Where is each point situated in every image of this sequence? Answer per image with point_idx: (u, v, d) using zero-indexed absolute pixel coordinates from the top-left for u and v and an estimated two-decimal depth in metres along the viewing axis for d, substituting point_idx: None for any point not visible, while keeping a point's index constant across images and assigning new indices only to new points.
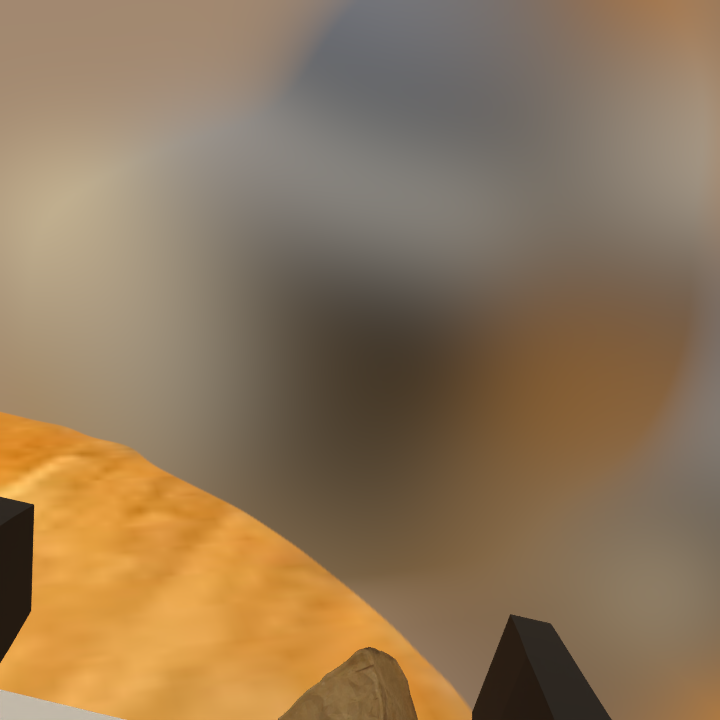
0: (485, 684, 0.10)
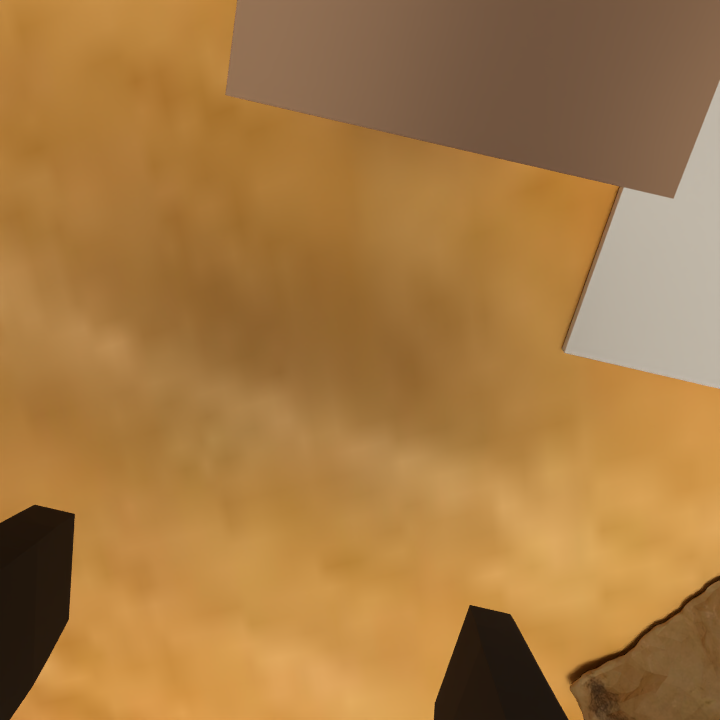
0: (446, 675, 0.10)
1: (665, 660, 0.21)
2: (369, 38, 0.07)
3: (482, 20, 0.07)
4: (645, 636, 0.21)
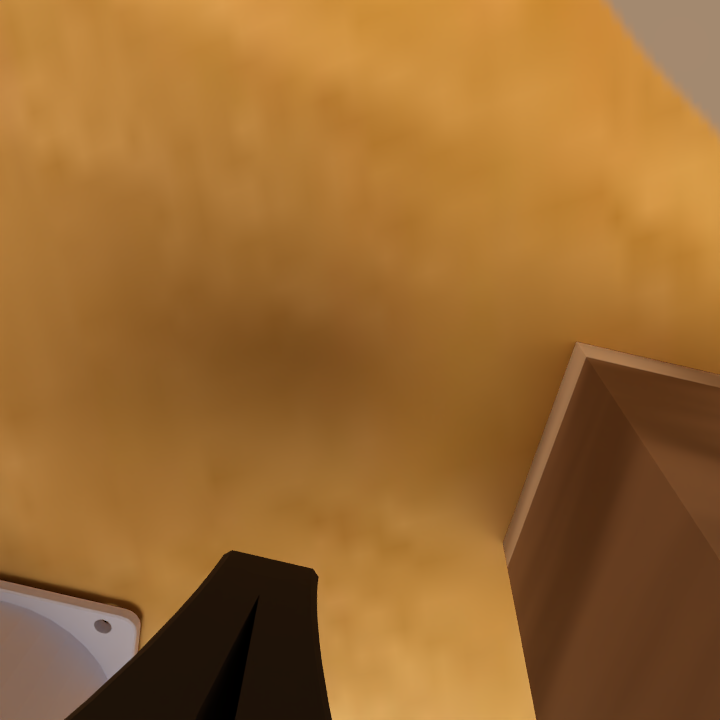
0: None
1: None
2: None
3: None
4: None
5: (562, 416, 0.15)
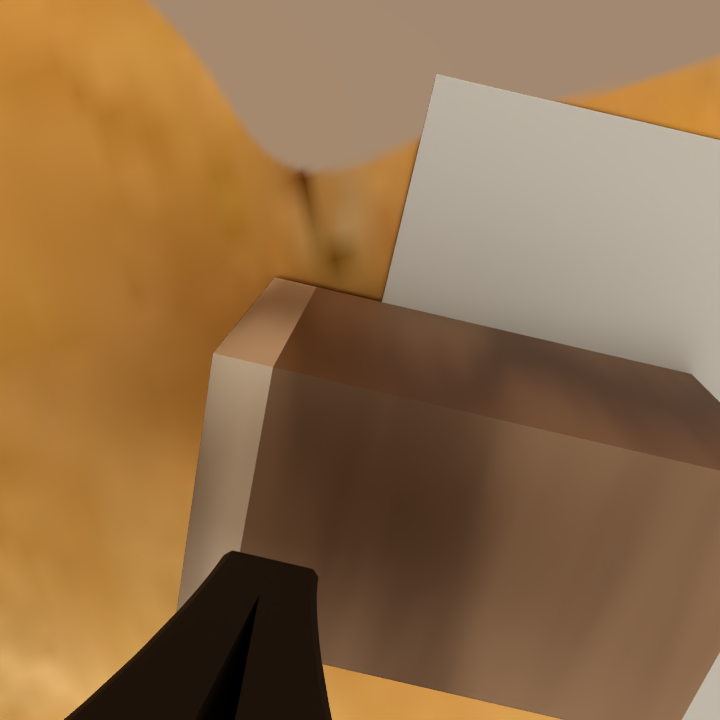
0: None
1: None
2: None
3: None
4: None
5: (251, 448, 0.11)
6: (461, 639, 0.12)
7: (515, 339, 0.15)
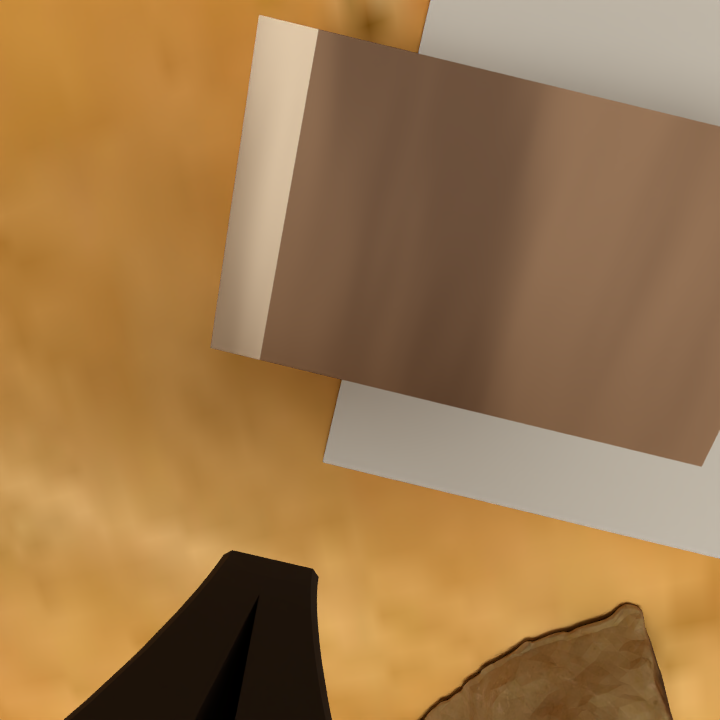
0: None
1: None
2: None
3: None
4: (431, 711, 0.23)
5: (293, 127, 0.11)
6: (497, 349, 0.12)
7: None
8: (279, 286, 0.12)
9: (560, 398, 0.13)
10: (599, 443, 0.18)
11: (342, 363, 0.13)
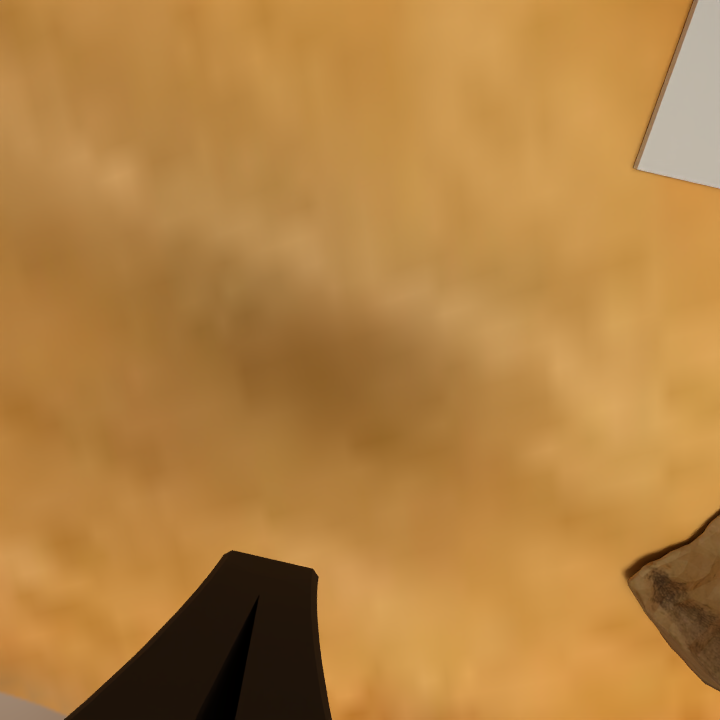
0: None
1: None
2: None
3: None
4: (714, 520, 0.19)
5: None
6: None
7: None
8: None
9: None
10: None
11: None
